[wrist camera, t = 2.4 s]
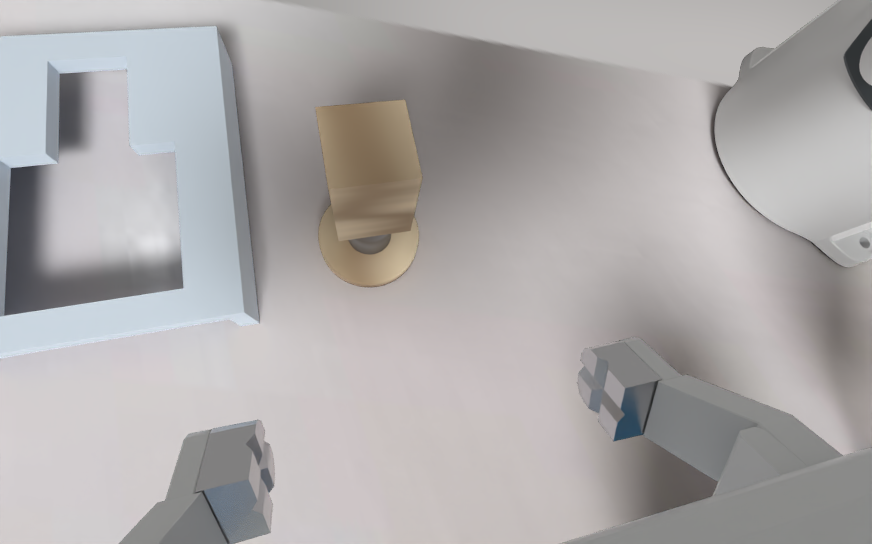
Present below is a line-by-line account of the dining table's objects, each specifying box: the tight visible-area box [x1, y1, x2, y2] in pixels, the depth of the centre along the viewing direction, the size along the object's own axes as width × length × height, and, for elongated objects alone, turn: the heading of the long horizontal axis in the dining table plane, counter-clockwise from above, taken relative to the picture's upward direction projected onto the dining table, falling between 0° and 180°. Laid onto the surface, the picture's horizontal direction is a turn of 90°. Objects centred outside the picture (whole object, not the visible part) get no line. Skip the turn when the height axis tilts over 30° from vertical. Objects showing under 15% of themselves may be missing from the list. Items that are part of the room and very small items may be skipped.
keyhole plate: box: [0, 26, 260, 358], centre depth 25 cm, size 14×18×3 cm
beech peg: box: [315, 100, 423, 287], centre depth 22 cm, size 6×6×11 cm
